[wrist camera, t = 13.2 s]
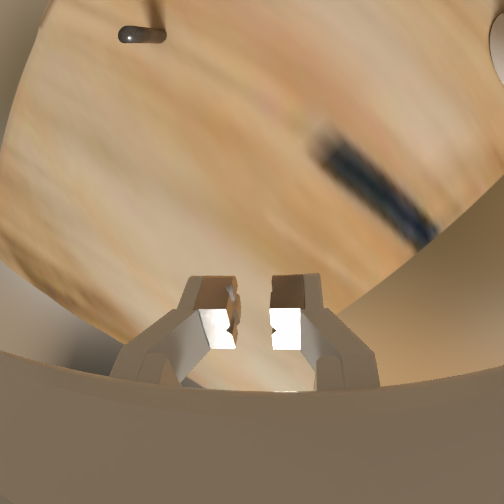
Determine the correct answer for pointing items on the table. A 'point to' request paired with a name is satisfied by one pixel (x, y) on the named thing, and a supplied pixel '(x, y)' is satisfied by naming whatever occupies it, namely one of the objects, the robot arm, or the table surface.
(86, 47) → the table surface
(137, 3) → the table surface
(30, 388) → the robot arm
